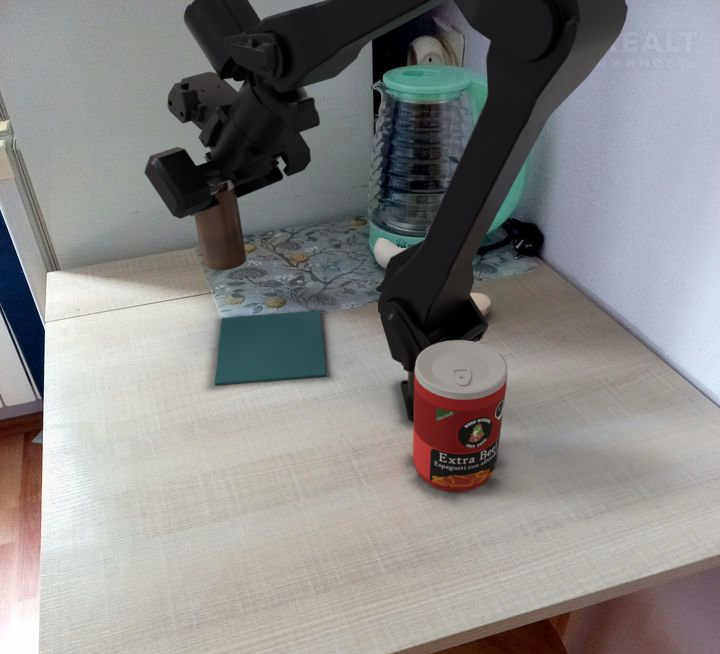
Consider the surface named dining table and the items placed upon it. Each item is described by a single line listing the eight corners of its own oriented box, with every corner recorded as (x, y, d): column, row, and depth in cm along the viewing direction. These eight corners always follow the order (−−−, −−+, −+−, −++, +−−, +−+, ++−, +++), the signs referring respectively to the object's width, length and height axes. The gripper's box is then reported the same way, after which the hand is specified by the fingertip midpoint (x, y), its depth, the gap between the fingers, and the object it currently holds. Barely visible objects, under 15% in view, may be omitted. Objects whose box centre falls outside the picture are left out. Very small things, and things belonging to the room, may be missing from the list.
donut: (430, 243, 102) (364, 252, 100) (431, 219, 99) (363, 229, 97) (458, 272, 94) (387, 283, 92) (460, 248, 92) (387, 259, 90)
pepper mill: (245, 268, 84) (230, 173, 77) (201, 272, 84) (182, 176, 77) (247, 250, 88) (233, 157, 81) (205, 253, 88) (187, 160, 81)
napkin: (325, 376, 77) (325, 374, 77) (215, 385, 76) (214, 382, 76) (319, 312, 87) (319, 310, 87) (222, 319, 87) (222, 317, 87)
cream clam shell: (483, 326, 84) (485, 307, 82) (443, 318, 85) (444, 299, 84) (493, 308, 87) (495, 290, 85) (454, 302, 88) (455, 283, 86)
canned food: (430, 502, 61) (434, 400, 54) (400, 446, 67) (401, 348, 60) (510, 483, 63) (525, 382, 56) (475, 430, 69) (484, 332, 62)
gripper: (282, 31, 74) (231, 125, 87) (130, 67, 64) (98, 167, 77) (341, 123, 75) (281, 203, 88) (201, 174, 65) (157, 255, 78)
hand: (208, 204), depth 82 cm, fingers closed on pepper mill, 5 cm apart
